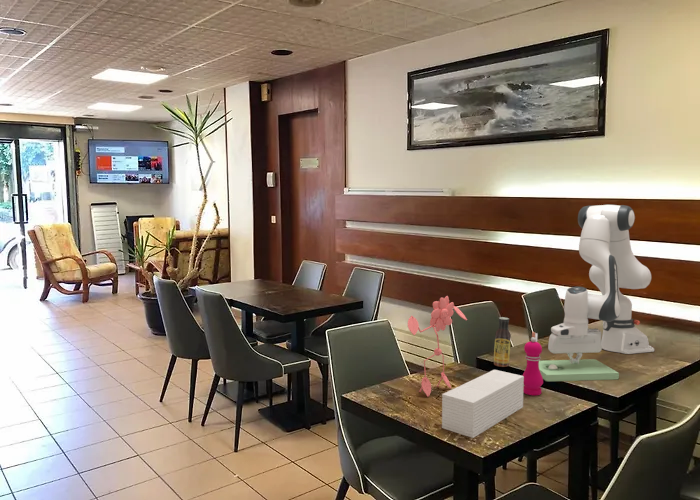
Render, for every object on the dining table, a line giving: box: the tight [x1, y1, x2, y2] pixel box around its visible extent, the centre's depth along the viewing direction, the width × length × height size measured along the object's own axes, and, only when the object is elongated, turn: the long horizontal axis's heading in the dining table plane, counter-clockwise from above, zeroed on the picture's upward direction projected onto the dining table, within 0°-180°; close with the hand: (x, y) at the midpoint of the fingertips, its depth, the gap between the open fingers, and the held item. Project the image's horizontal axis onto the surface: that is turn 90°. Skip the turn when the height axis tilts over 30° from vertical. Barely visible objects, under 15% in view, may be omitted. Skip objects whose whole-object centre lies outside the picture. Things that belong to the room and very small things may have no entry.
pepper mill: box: [522, 336, 544, 396], centre depth 198 cm, size 7×7×20 cm
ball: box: [548, 364, 558, 369], centre depth 220 cm, size 4×4×4 cm
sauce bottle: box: [493, 316, 512, 368], centre depth 230 cm, size 6×6×20 cm
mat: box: [531, 331, 620, 382], centre depth 221 cm, size 28×20×14 cm
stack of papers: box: [441, 369, 525, 439], centre depth 177 cm, size 32×11×11 cm, turn 137°
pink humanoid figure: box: [406, 295, 468, 398], centre depth 196 cm, size 15×26×35 cm, turn 128°
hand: (574, 363), depth 220 cm, fingers closed
